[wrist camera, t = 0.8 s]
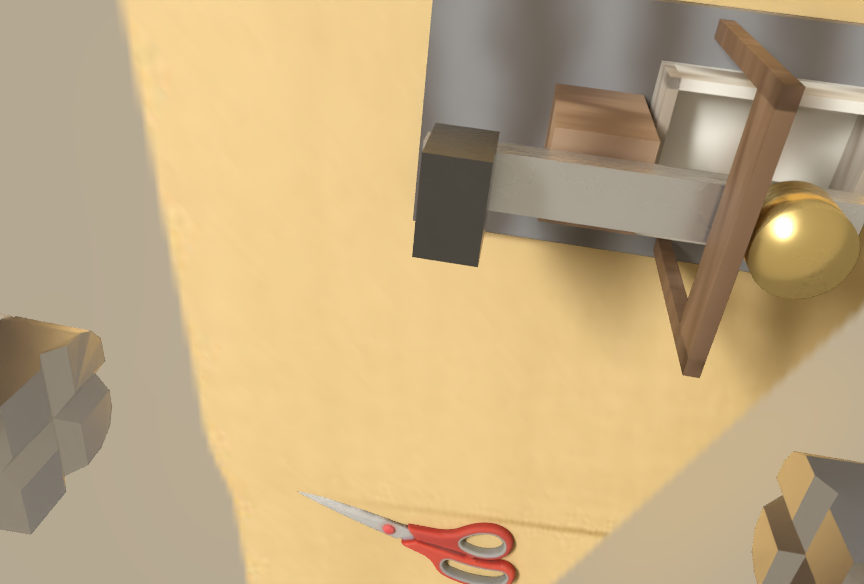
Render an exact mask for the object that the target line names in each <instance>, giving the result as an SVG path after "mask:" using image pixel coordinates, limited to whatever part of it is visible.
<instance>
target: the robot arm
mask: <svg viewBox="0 0 864 584" xmlns="http://www.w3.org/2000/svg"><path fill="white" fill-rule="evenodd" d="M104 362H105V357H104V352H103V347H102V342H101V338H100V337H99V336H97V335H96V334H95V333H93V332H92V331H89V330H85V329H79V328H74V327H69V326H64V325H59V324H54V323H48V322H43V321H38V320H33V319H27V318H23V317H17V316H15V317H13V316H10V315H6V314H0V529H1V530H7V531H14V532H19V533H26V534H32V533H33V532H34V530H35V529H36V528H37V527H38V526H39V524H40V523H41V522H42V521H43V519H44V518H45V517H46V516H47V515H48V513H49V512H50V511H51V510H52V508H53V507H54V506H55V505H56V504H57V502H58V501H59V500H60V499H61V497H62V496H63V495H64V494H65V493H66V486H65V476H66V475H68V474H70V473H72V472H74V471H76V470H78V469H80V468H83V467H85V466H87V465H88V464H89V463H90V462H91V460H92V459H93V458H94V456H95V455H96V454H97V453H98V451H99V450H100V449H101V447H102V445H103V442H104V439H105V437H106V434H107V432H108V429H109V427H110V421H111V411H112V404H111V397H110V390H109V389H108V388H107V387H106V386H105V385H104V383H103V382H102V381H101V380H100V378H99V377H98V376H97V375H96V372H97V371H98V370H99V368H100V367H101V366H102V364H103V363H104ZM777 480H778V483H779V486H780V489H781V491H782V494H783V495H782V496H780V497H779V498H777V499H775V500H774V501H772V502H770V503H768V504H767V505H765V506H764V507H763V509H762V511H761V514H760V517H759V519H758V521H757V524H756V527H755V531H754V539H753V548H752V556H753V567H754V573H755V577H756V580H757V584H864V463H861V462H855V461H849V460H843V459H837V458H831V457H825V456H819V455H813V454H807V453H801V452H795V451H794V452H793V453H791V454H790V456H789V457H788V458H787V459H786V460H785V461H784V463H783V465H782V467H781V469H780V471H779V473H778V475H777Z"/></svg>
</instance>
